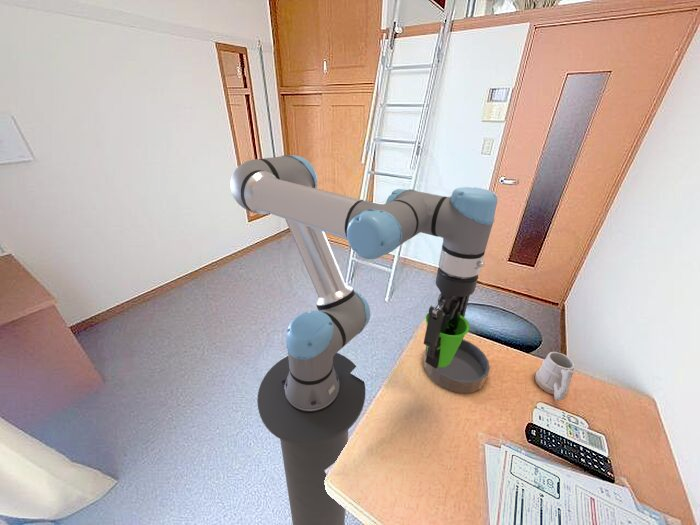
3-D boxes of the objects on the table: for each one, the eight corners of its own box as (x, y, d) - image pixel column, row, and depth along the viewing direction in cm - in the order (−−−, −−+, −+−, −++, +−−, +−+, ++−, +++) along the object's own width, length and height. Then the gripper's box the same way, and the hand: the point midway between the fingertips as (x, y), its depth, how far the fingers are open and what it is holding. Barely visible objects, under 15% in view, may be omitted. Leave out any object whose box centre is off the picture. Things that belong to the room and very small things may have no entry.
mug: (560, 377, 85) (576, 348, 80) (572, 412, 75) (592, 381, 70) (531, 370, 87) (545, 341, 82) (540, 403, 78) (556, 372, 72)
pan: (413, 372, 86) (415, 361, 84) (436, 338, 99) (438, 328, 97) (476, 405, 76) (480, 394, 74) (491, 363, 90) (495, 352, 88)
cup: (410, 355, 67) (417, 318, 62) (435, 339, 72) (443, 304, 67) (442, 381, 60) (452, 342, 55) (467, 362, 65) (478, 325, 60)
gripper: (452, 296, 47) (431, 391, 58) (496, 262, 59) (471, 346, 69) (414, 279, 52) (401, 369, 63) (462, 250, 63) (444, 331, 74)
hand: (438, 357), depth 66 cm, fingers closed on cup, 5 cm apart
